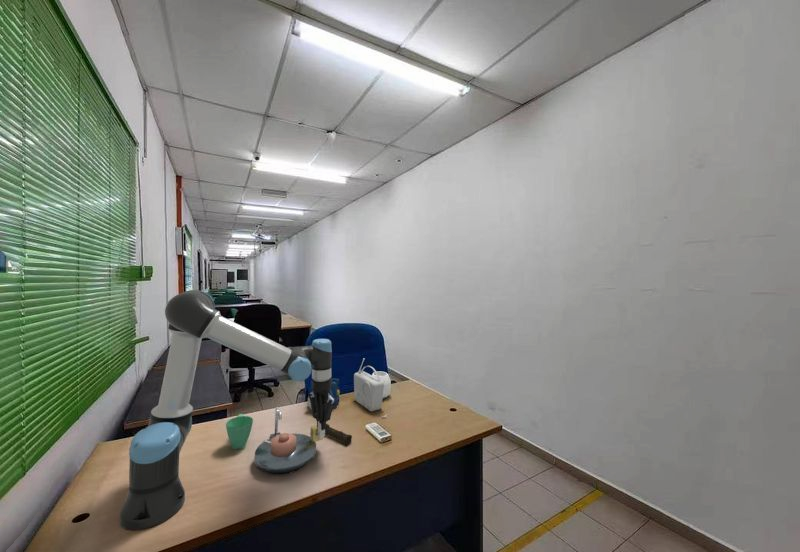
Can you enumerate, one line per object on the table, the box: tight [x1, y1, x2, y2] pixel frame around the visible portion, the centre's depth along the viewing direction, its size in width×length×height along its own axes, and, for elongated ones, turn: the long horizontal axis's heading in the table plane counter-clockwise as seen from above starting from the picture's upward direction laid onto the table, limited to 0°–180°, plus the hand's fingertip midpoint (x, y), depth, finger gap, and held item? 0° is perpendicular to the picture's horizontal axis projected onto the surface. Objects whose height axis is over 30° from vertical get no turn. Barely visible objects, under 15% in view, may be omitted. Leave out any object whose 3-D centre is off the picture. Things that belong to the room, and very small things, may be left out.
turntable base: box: [262, 463, 308, 476], centre depth 120 cm, size 18×18×2 cm
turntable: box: [254, 424, 324, 472], centre depth 121 cm, size 24×22×7 cm
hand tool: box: [325, 423, 353, 446], centre depth 137 cm, size 19×4×5 cm, turn 54°
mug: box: [225, 413, 254, 450], centre depth 130 cm, size 15×10×10 cm
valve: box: [307, 378, 341, 411], centre depth 165 cm, size 13×15×15 cm
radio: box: [353, 357, 384, 412], centre depth 171 cm, size 22×8×25 cm, turn 37°
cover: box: [271, 433, 296, 457], centre depth 119 cm, size 9×9×6 cm
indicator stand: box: [269, 406, 283, 439], centre depth 132 cm, size 10×4×14 cm, turn 33°
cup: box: [371, 370, 392, 400], centre depth 184 cm, size 13×13×14 cm
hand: (321, 436), depth 125 cm, fingers closed
